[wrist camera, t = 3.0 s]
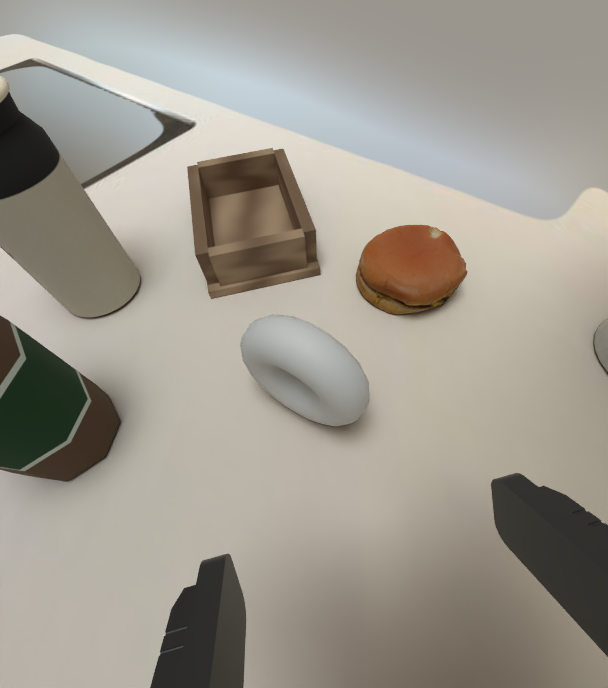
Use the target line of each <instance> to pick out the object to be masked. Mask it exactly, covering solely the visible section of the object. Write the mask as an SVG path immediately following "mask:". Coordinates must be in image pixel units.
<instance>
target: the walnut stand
mask: <svg viewBox="0 0 608 688" xmlns="http://www.w3.org/2000/svg"><path fill="white" fill-rule="evenodd" d="M197 163H198V165H194V166H189V167H187V168H188V179H189V190H190V201H191V212H192V223H193V234H194V245H195V255H196V258H197V260H198V262H199V264H200V267H201V269H202V271H203V273H204V276H205V278H206V280H207V285H208V293H209V295H210V297H211V299H212V298H216V297H221V296H226V295H230V294H235V293H239V292H244V291H248V290H253V289H257V288H262V287H266V286H271V285H276V284H280V283H285V282H289V281H294V280H298V279H303V278H307V277H312V276H316V275H320V266H319V263H318V261H317V254H316V229H315V227H314V224H313V222H312V219H311V217H310V214H309V212H308V209H307V207H306V204H305V202H304V199H303V197H302V194H301V192H300V189H299V187H298V184H297V182H296V179H295V177H294V174H293V172H292V169H291V167H290V164H289V162H288V159H287V157H286V154H285V152H284V149H279V150H274V151H273V148H270V149H265V150H259V151H254V152H249V153H243V154H238V155H233V156H227V157H222V158H217V159H211V160H206V161H201V162H197Z"/></svg>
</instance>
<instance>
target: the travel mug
mask: <svg viewBox="0 0 608 688" xmlns="http://www.w3.org/2000/svg"><path fill="white" fill-rule="evenodd" d="M0 247H1V248H2V249H3V250H4V251H5V252H6V253H7V254H9V255H10V256H11V257H12V258H13V259H14V260H15V261H16V262H17V263H18V264H19V265H20V266H21V267H22V268H23V269H24V270H26V271H27V272H28V273H29V274H30V275H31V276H32V277H33V278H34V279H35V280H36V281H37V282H38V283H39V284H40V285H41V286H43V287H44V288H45V289H46V290H47V291H48V292H49V293H50V294H51V295H52V296H53V297H54V298H55V299H56V300H57V301H58V302H60V303H61V304H62V305H63V306H64V307H65V308H66V309H67V310H68V311H69V312H70V313H72V314H74V315H76V316H80V317H97V316H101V315H105V314H108V313H110V312H112V311H114V310H116V309H118V308H120V307H121V306H123V305H124V304H125V303H126V302H128V301H129V300H130V299H131V298H132V296H133V295H134V294H135V292H136V291H137V289H138V286H139V283H140V275H139V272H138V270H137V268H136V267H135V265H134V264H133V262H132V261H131V259H130V258H129V256H128V255H127V253H126V252H125V250H124V249H123V247H122V246H121V244H120V243H119V241H118V240H117V238H116V237H115V235H114V234H113V232H112V231H111V229H110V228H109V226H108V225H107V223H106V222H105V220H104V219H103V217H102V216H101V214H100V213H99V211H98V210H97V208H96V207H95V205H94V204H93V202H92V201H91V199H90V198H89V196H88V195H87V193H86V192H85V190H84V189H83V187H82V186H81V184H80V183H79V182H78V180H77V179H76V177H75V176H74V174H73V173H72V171H71V170H70V168H69V167H68V165H67V164H66V162H65V161H64V159H63V158H62V156H61V155H60V153H59V152H58V150H57V149H56V147H55V146H54V144H53V143H52V141H51V140H50V138H49V137H48V135H47V134H46V132H45V131H44V129H43V128H42V127H40V126H39V125H37V124H36V123H35V122H34V121H32V120H31V119H29V118H28V117H26V116H25V115H24V114H23V113H21V112H20V111H19V110H18V108H17V106H16V104H15V103H14V101H13V99H12V97H11V95H10V93H9V84H8V82H7V81H6V79H5V78H3V77H2V76H0Z"/></svg>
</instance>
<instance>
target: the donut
mask: <svg viewBox="0 0 608 688" xmlns="http://www.w3.org/2000/svg"><path fill="white" fill-rule="evenodd" d="M241 352H242V358H243V361H244V363H245V365H246V367H247V368H248V370H249V372H250V374H251V375H252V376H253V377H254V379H255V380H256V381H257V382H258V383H259V385H261V386H262V387H263V388H264V389H265V390H266V391H267V392H268V393H269V394H270V395H271V396H273V397H274V398H275V399H276V400H278V401H279V402H280V403H282V404H283V405H285V406H286V407H288V408H289V409H291V410H292V411H294V412H296V413H297V414H299V415H301V416H303V417H305V418H307V419H309V420H312V421H315V422H317V423H320V424H325V425H331V426H340V425H346V424H351V423H353V422H355V421H356V420H357V419H358V418H359V417H360V416H361V414H362V413H363V412H364V411H365V410H366V408H367V406H368V403H369V382H368V380H367V377H366V375H365V373H364V371H363V369H362V367H361V365H360V363H359V362H358V361H357V360H356V359H355V357H354V356H353V355H352V354H351V353H350V352H349V350H348V349H347V348H346V347H345V346H343V345H342V344H341V343H340V342H338V341H337V340H336V339H335V338H334V337H332V336H331V335H330V334H328V333H327V332H325V331H323V330H322V329H320V328H318V327H316V326H315V325H313V324H311V323H309V322H306V321H304V320H301V319H298V318H295V317H292V316H283V315H270V316H267V317H264V318H261V319H258V320H255V321H254V322H253V323H251V324H250V325H249V327H248V328H247V330H246V332H245V333H244V335H243V337H242V340H241Z"/></svg>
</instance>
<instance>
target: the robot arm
mask: <svg viewBox="0 0 608 688" xmlns="http://www.w3.org/2000/svg"><path fill="white" fill-rule="evenodd" d="M594 344H595V350H596V353H597V355H598V358H599V360H600V362H601V363H602V365H603V366H604V368H605V369H606V370H607V372H608V319H607V320H605V321H604V322H603V323H602V324H601V325H600V326H599V327H598V329H597V331H596V333H595V339H594ZM491 489H492V499H493V509H494V519H495V525H496V528H497V531H498V533H499V535H500V537H501V538H502V540H503V542H504V543H505V544H506V545H507V547H508V548H509V549H510V550H511V551H512V552H513V553H514V554H515V555H516V557H517V558H518V559H519V560H520V561H521V562H522V563H523V564H524V565H525V566H526V567H527V569H528V570H529V571H530V572H531V573H532V574H533V575H534V576H535V577H536V578H537V580H538V581H539V582H540V583H541V584H542V585H543V586H544V587H545V588H546V589H547V591H548V592H549V593H550V594H551V595H552V596H553V597H554V598H555V599H556V600H557V602H558V603H559V604H560V605H561V606H562V607H563V608H564V609H565V610H566V611H567V613H568V614H569V615H570V616H571V617H572V618H573V619H574V620H575V621H576V622H577V624H578V625H579V626H580V627H581V628H582V629H583V630H584V631H585V632H586V633H587V635H588V636H589V637H590V638H591V639H592V640H593V641H594V642H595V643H596V644H597V646H598V647H599V648H600V649H601V650H602V651H603V652H604V653H605V654H606V655H607V657H608V525H607V524H605V523H602V522H601V520H600V519H598V518H597V517H596V516H594V515H593V514H591V513H590V512H589V511H588V512H586V511H585V509H584V508H583V507H582V506H580V505H579V504H577V503H576V502H575V501H573V500H572V499H570V498H569V497H568V496H566V495H564V494H562V493H560V492H557V491H555V490H552V489H550V488H548V487H545V486H542V487H538V486H536V485H535V484H534V483H532V482H531V481H530V480H528V479H527V478H526V477H525V476H523V475H522V474H519V473H515V474H511V475H508V476H504V477H501V478H497V479H494V480H493V481H492V483H491ZM165 632H166V636H164V639H163V643H162V646H161V650H160V652H161V654H160V656H159V658H158V661H157V665H156V669H155V672H154V676H153V680H152V684H151V687H150V688H243V683H244V659H245V636H246V609H245V602H244V597H243V593H242V590H241V587H240V584H239V580H238V577H237V574H236V571H235V568H234V565H233V561H232V558H231V556H230V554H225V555H221V556H218V557H214V558H210V559H207V560H203V561H202V562H201V564H200V568H199V573H198V578H197V583H196V585H194V586H190V587H187V588H184V589H183V591H182V593H181V594H180V596H179V598H178V599H177V601H176V603H175V604H174V606H173V607H172V609H171V613H170V617H169V620H168V624H167V628H166V631H165Z"/></svg>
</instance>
